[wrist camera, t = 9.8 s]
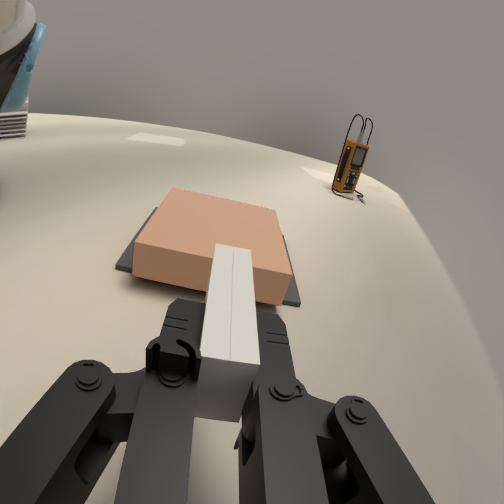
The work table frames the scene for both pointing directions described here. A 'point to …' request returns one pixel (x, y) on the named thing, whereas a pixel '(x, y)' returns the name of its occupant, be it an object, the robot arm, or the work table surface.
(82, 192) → the work table surface
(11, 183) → the work table surface
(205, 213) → the tile
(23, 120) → the aluminum extrusion profile
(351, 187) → the multimeter
